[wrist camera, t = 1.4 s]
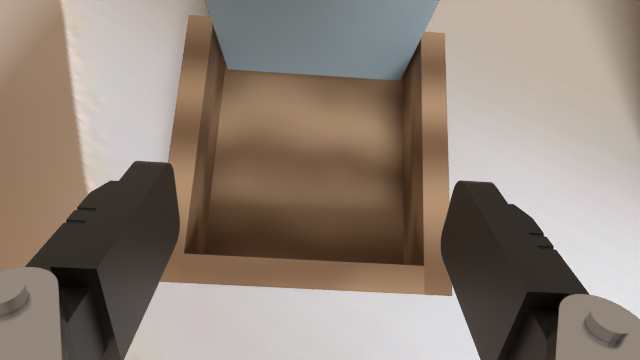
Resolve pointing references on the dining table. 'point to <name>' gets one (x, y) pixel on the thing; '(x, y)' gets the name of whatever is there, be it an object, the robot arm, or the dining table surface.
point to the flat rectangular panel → (321, 35)
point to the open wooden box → (310, 175)
